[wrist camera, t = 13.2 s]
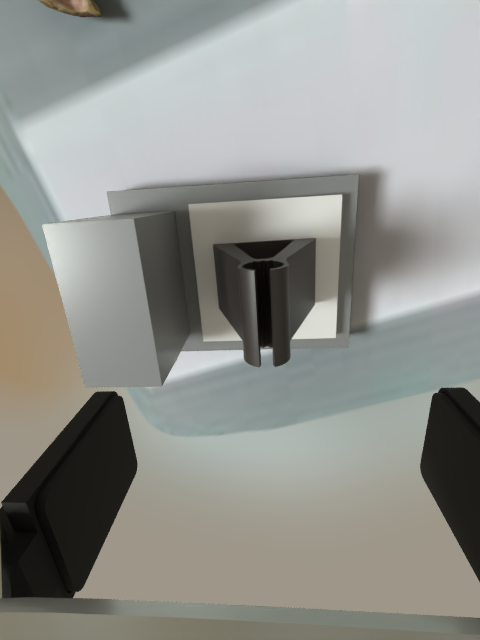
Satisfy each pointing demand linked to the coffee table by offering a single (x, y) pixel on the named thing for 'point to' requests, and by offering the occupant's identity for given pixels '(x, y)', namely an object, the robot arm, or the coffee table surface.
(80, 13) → the ceramic sculpture
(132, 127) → the coffee table surface
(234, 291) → the phone stand
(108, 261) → the grey bracket with tile
